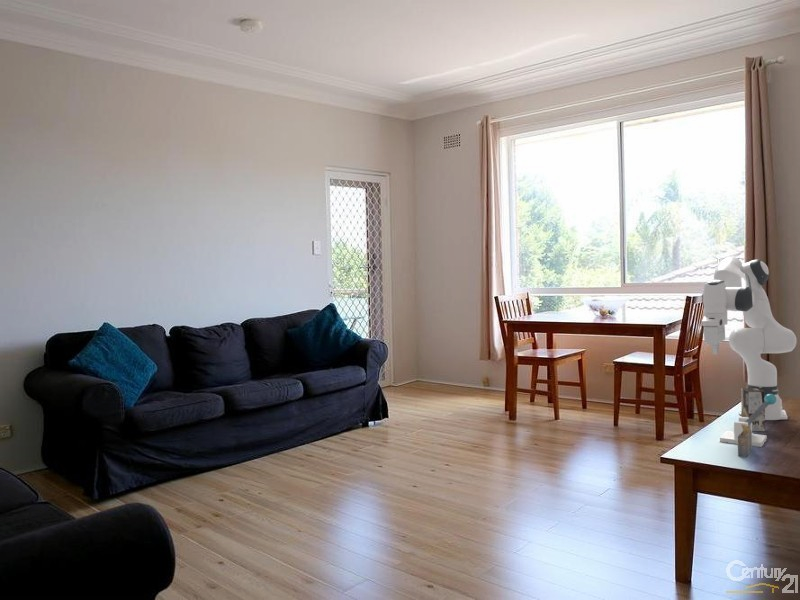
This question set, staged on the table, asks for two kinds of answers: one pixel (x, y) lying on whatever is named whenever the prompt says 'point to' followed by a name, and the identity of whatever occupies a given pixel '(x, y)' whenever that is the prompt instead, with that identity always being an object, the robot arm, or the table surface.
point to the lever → (762, 407)
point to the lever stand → (733, 436)
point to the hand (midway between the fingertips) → (715, 353)
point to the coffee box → (753, 406)
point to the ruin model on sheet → (745, 441)
